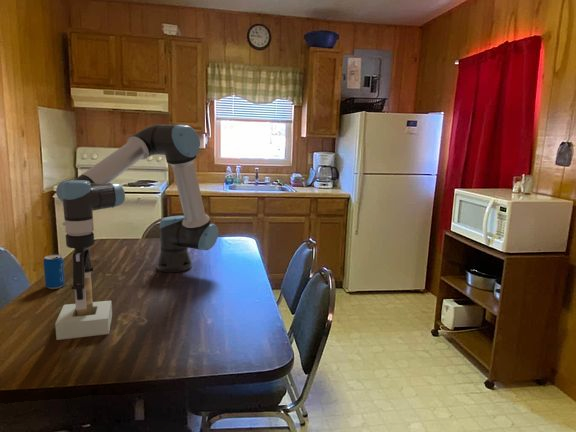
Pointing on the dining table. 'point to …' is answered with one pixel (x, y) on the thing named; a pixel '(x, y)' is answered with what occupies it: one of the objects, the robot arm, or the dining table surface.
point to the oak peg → (87, 298)
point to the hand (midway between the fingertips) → (84, 300)
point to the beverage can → (54, 271)
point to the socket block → (84, 321)
